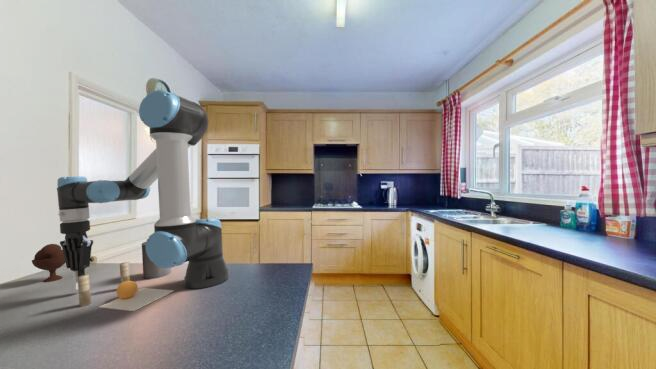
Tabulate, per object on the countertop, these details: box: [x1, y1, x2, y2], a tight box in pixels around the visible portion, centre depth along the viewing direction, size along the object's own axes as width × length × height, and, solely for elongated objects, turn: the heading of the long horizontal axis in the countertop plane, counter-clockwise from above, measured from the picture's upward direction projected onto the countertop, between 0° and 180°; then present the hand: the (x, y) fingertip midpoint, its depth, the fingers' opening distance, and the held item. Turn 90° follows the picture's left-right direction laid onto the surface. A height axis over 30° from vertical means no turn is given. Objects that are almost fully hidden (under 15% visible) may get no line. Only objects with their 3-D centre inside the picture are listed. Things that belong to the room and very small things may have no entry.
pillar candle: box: [141, 241, 172, 280], centre depth 108 cm, size 10×10×15 cm
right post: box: [119, 261, 131, 284], centre depth 94 cm, size 3×3×9 cm
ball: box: [115, 280, 139, 299], centre depth 86 cm, size 6×6×6 cm
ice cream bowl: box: [31, 243, 66, 283], centre depth 109 cm, size 11×11×15 cm
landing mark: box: [98, 287, 175, 312], centre depth 84 cm, size 14×14×1 cm
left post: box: [77, 274, 92, 308], centre depth 82 cm, size 3×3×9 cm
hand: (79, 288), depth 92 cm, fingers closed
